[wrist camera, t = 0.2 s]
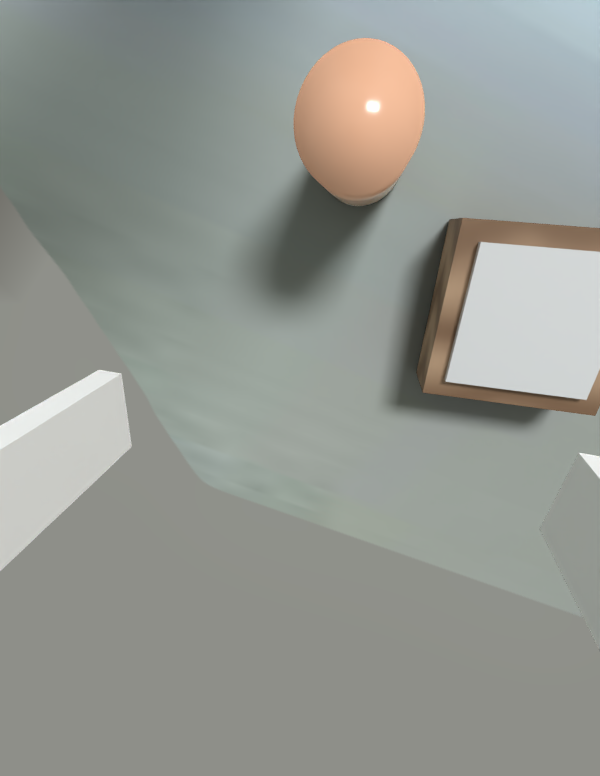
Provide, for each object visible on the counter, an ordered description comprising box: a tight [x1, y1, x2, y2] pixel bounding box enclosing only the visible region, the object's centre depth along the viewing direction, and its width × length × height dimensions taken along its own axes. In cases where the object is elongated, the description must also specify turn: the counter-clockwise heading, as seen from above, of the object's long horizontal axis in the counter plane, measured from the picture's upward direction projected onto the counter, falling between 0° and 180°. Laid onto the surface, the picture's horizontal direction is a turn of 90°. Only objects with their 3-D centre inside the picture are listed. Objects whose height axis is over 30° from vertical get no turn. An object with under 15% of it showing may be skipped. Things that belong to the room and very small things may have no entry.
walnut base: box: [416, 218, 600, 416], centre depth 31 cm, size 14×14×6 cm
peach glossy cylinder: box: [294, 38, 425, 206], centre depth 26 cm, size 7×7×12 cm
